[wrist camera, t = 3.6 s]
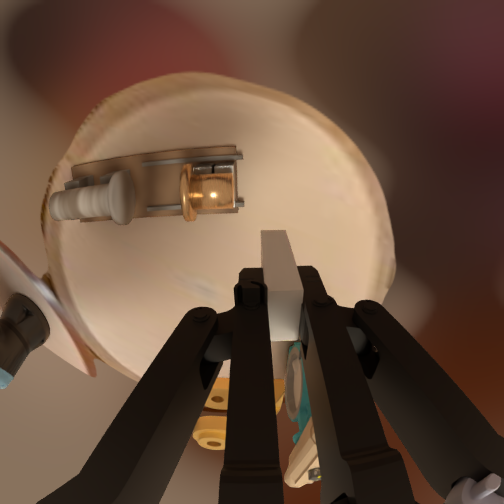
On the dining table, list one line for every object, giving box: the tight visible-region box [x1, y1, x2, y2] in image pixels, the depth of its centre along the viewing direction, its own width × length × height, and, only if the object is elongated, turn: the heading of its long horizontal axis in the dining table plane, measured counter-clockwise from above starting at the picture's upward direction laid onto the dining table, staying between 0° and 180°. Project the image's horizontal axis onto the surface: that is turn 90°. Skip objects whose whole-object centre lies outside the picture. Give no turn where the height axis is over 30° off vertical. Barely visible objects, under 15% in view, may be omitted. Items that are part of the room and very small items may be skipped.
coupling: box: [179, 162, 236, 221], centre depth 35 cm, size 6×7×10 cm
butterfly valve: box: [284, 342, 321, 487], centre depth 42 cm, size 27×7×30 cm, turn 175°
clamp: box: [193, 378, 285, 450], centre depth 54 cm, size 20×9×16 cm, turn 87°
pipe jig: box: [49, 146, 244, 225], centre depth 35 cm, size 29×10×12 cm, turn 91°
